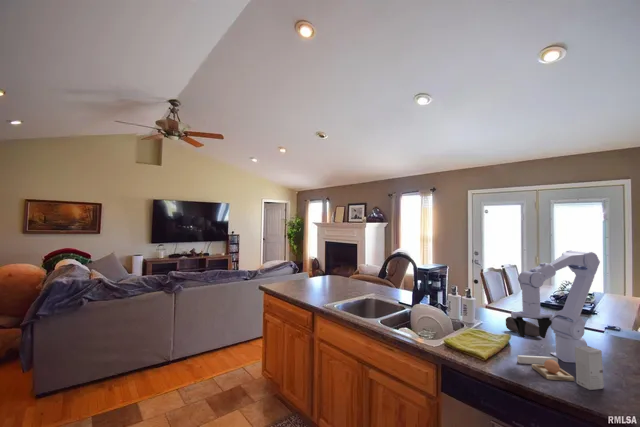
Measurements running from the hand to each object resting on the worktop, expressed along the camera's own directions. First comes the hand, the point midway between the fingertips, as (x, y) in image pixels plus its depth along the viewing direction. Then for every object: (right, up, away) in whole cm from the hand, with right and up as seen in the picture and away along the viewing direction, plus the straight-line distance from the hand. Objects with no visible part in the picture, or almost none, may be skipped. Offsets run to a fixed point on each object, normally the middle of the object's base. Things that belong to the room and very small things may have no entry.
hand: (532, 336), depth 113 cm
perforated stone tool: (+17, -11, +29) cm, 36 cm away
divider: (0, -9, -3) cm, 10 cm away
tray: (-1, -9, -10) cm, 14 cm away
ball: (-1, -8, -10) cm, 13 cm away
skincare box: (+6, -9, -18) cm, 21 cm away
